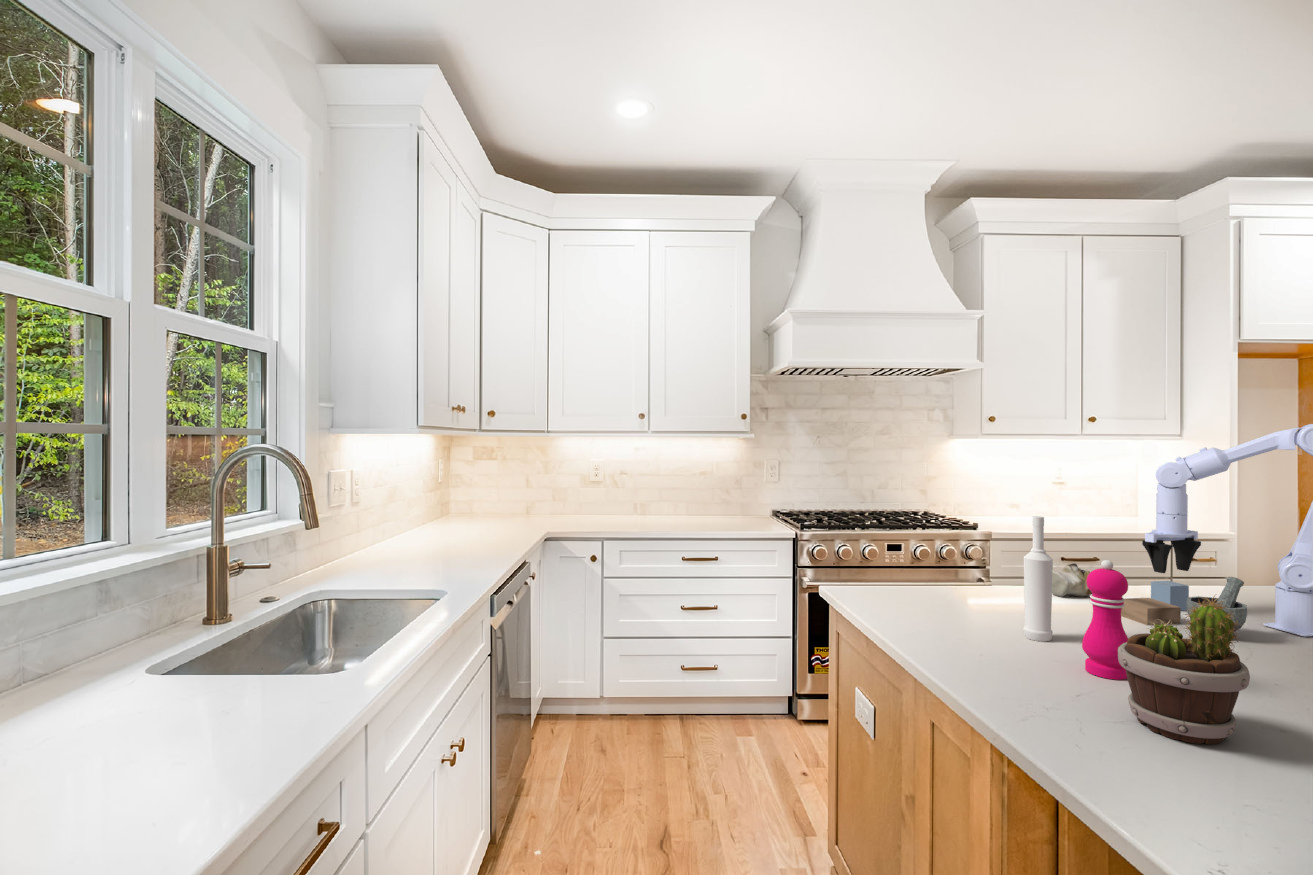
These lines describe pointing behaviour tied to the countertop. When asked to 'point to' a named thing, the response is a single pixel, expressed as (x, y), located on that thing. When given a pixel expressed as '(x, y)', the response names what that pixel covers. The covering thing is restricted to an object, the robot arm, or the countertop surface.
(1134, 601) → the walnut plinth
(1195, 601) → the mortar and pestle
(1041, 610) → the bottle
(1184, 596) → the slate block
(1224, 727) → the flowerpot
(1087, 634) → the pepper mill
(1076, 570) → the grey rock
